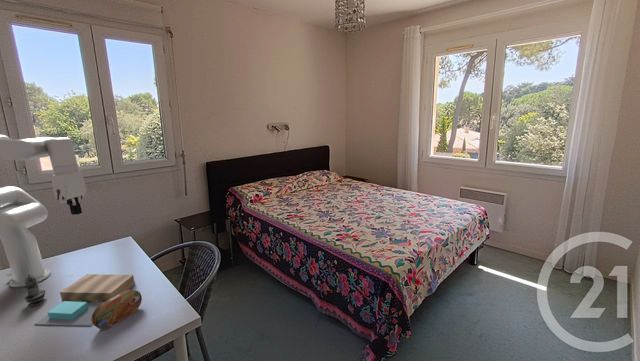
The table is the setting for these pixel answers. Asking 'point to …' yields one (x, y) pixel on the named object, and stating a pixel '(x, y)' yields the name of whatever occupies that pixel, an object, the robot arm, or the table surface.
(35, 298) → the grey chess piece
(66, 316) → the turquoise foam pad
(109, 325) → the tin
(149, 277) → the table surface
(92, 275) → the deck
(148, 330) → the table surface
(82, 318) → the mat
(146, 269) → the table surface
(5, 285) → the table surface
